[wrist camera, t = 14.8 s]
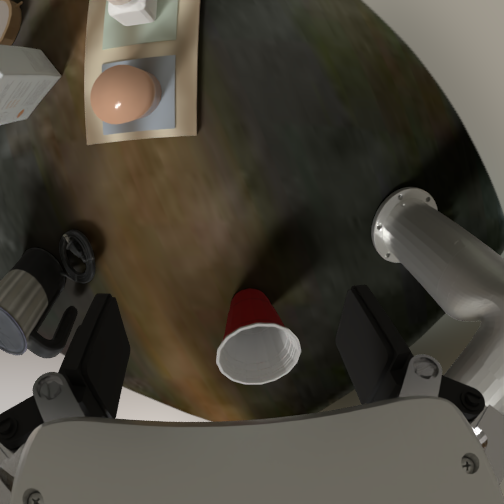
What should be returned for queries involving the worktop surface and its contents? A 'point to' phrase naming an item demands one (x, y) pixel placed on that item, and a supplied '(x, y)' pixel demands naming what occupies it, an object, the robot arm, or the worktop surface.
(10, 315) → the milk frother
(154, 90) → the peach rounded cylinder
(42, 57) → the small box
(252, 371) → the plastic cup
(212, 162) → the worktop surface
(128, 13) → the salt shaker
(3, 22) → the alarm clock
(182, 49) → the board
